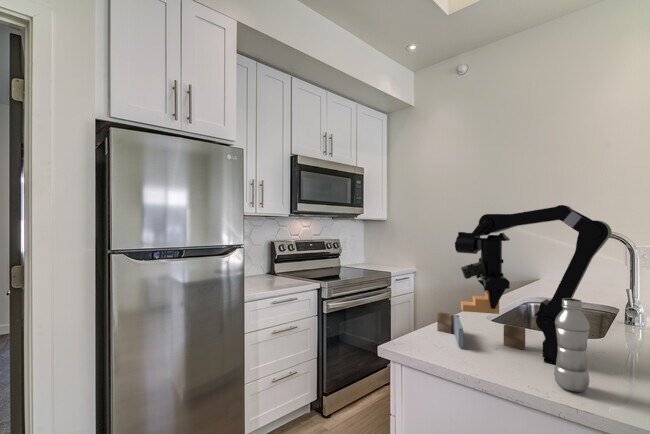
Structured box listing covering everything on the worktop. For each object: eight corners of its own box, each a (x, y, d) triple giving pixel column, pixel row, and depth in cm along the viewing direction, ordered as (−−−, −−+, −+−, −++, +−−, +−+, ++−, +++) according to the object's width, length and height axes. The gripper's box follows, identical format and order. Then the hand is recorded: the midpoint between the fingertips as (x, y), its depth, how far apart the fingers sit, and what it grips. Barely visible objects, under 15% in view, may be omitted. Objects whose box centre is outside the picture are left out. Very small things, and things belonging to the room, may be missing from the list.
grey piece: (452, 332, 115) (453, 314, 115) (458, 332, 115) (458, 315, 115) (457, 348, 101) (457, 328, 101) (464, 348, 101) (464, 328, 101)
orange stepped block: (462, 311, 105) (463, 292, 105) (460, 307, 109) (461, 289, 109) (499, 314, 102) (499, 294, 102) (495, 309, 107) (495, 291, 107)
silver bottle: (547, 384, 79) (547, 297, 80) (567, 380, 82) (567, 295, 82) (575, 398, 73) (576, 304, 74) (596, 392, 76) (597, 302, 76)
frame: (525, 348, 102) (525, 327, 102) (523, 350, 100) (523, 329, 101) (439, 329, 119) (439, 311, 119) (437, 330, 117) (437, 313, 117)
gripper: (459, 251, 116) (459, 298, 116) (466, 257, 98) (466, 312, 98) (495, 252, 113) (495, 300, 113) (510, 258, 95) (509, 315, 95)
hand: (491, 306), depth 105 cm, fingers closed on orange stepped block, 5 cm apart
